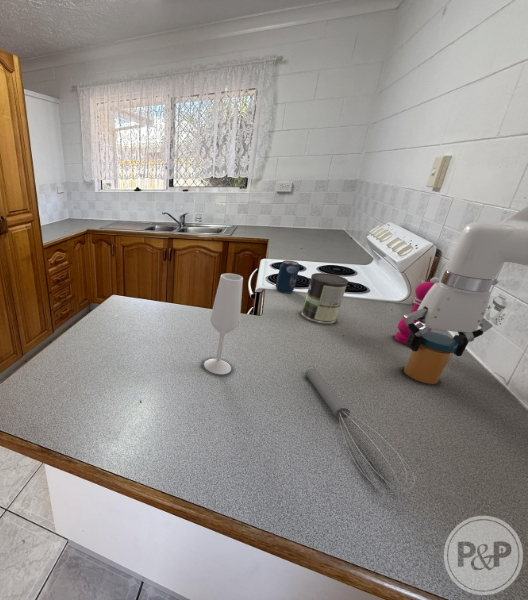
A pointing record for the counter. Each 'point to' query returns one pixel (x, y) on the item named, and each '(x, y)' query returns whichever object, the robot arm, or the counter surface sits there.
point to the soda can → (287, 276)
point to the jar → (427, 364)
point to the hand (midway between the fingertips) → (432, 350)
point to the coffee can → (324, 297)
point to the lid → (439, 342)
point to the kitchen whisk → (343, 413)
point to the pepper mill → (414, 309)
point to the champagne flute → (225, 316)
